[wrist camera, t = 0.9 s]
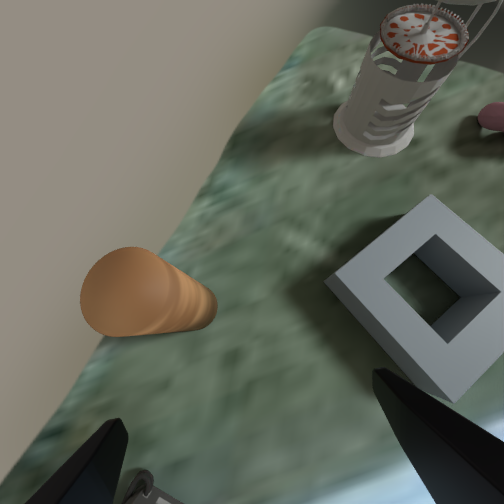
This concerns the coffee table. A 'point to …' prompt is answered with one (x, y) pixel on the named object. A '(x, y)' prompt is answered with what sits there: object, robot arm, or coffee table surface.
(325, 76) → the coffee table surface
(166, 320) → the peg
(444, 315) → the socket block
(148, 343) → the coffee table surface
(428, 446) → the robot arm
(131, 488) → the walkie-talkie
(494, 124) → the video game controller
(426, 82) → the french press
